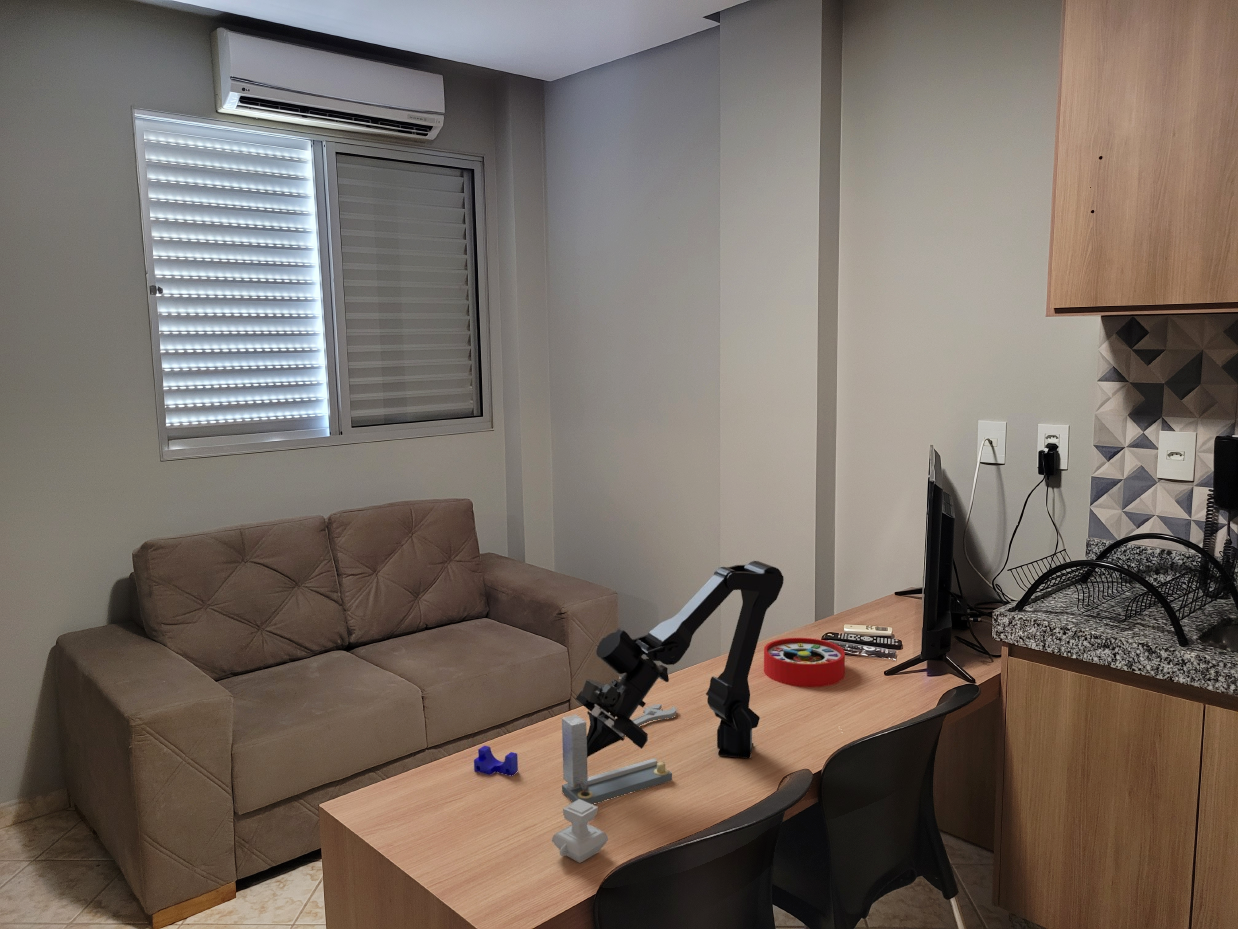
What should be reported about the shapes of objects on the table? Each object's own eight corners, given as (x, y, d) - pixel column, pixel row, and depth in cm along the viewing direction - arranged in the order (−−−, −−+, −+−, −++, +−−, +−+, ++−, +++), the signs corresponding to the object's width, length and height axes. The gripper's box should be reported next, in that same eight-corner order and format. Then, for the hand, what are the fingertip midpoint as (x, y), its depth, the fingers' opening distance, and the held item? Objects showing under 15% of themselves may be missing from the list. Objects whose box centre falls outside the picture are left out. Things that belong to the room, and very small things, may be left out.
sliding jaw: (577, 778, 169) (576, 714, 167) (594, 792, 163) (592, 726, 161) (563, 782, 167) (561, 717, 165) (579, 796, 162) (577, 730, 160)
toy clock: (825, 670, 211) (749, 654, 223) (825, 694, 212) (749, 677, 224) (857, 646, 227) (784, 632, 239) (856, 668, 228) (784, 654, 240)
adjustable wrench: (594, 751, 185) (594, 743, 185) (575, 741, 190) (575, 733, 190) (681, 716, 201) (680, 708, 201) (661, 708, 206) (661, 700, 206)
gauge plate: (652, 766, 177) (652, 751, 177) (672, 780, 171) (672, 765, 171) (562, 792, 167) (561, 777, 167) (579, 809, 161) (579, 792, 161)
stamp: (585, 835, 152) (584, 789, 151) (613, 850, 148) (613, 802, 147) (546, 858, 146) (545, 810, 145) (574, 874, 141) (573, 824, 140)
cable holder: (474, 771, 176) (473, 752, 176) (485, 764, 179) (484, 745, 179) (507, 780, 173) (506, 761, 172) (517, 772, 176) (517, 753, 175)
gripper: (583, 649, 175) (533, 716, 171) (632, 679, 159) (578, 753, 155) (618, 680, 180) (571, 745, 176) (670, 712, 164) (618, 784, 160)
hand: (583, 756), depth 166 cm, fingers closed, pressing on sliding jaw
